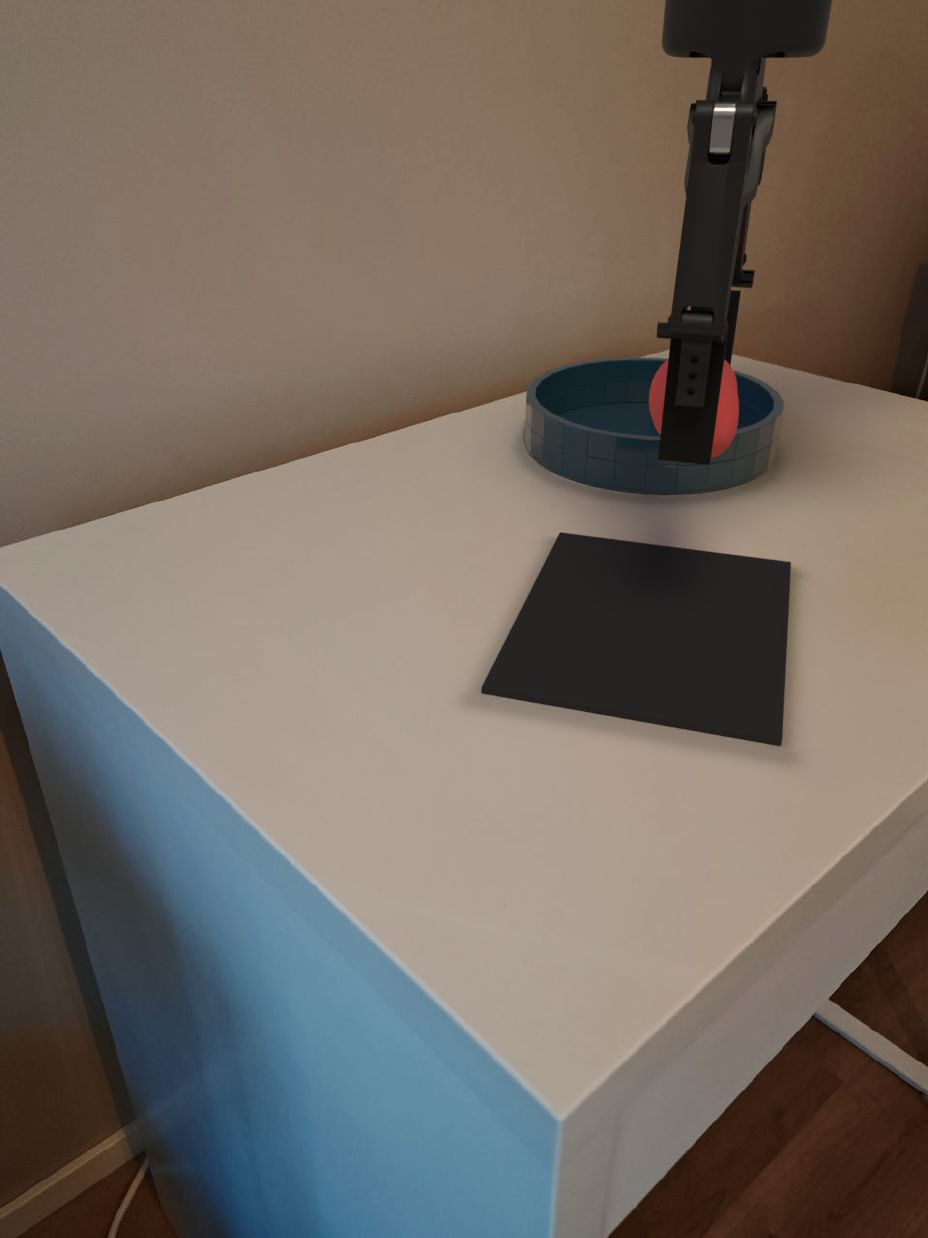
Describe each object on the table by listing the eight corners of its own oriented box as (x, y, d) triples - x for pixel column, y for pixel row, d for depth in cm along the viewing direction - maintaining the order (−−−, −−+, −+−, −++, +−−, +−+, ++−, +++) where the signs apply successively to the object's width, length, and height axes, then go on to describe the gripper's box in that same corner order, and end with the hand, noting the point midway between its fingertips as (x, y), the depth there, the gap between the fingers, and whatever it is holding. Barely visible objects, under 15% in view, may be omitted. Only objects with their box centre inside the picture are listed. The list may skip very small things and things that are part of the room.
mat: (790, 566, 66) (791, 561, 65) (781, 746, 49) (782, 739, 49) (559, 536, 70) (559, 531, 70) (481, 693, 53) (481, 687, 53)
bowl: (779, 414, 91) (787, 367, 89) (769, 508, 74) (779, 452, 71) (555, 394, 97) (556, 349, 94) (496, 476, 79) (497, 424, 77)
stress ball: (610, 472, 55) (649, 396, 50) (652, 373, 60) (691, 294, 55) (694, 509, 55) (742, 437, 50) (729, 407, 60) (776, 331, 54)
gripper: (694, -31, 54) (655, 365, 66) (631, -58, 36) (593, 495, 48) (836, -34, 52) (769, 375, 64) (845, -64, 34) (750, 514, 46)
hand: (694, 426), depth 56 cm, fingers closed on stress ball, 10 cm apart
